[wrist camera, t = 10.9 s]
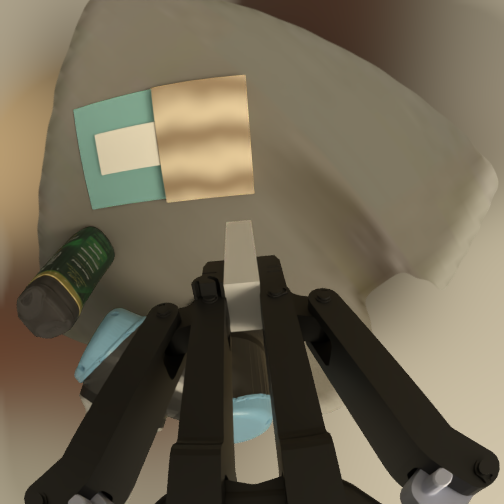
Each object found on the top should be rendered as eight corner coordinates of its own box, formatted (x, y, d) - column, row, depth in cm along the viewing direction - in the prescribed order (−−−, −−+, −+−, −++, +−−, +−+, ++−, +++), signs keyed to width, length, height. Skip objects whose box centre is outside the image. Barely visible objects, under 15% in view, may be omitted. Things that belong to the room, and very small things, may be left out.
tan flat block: (253, 188, 42) (254, 193, 40) (170, 197, 42) (167, 202, 39) (244, 76, 34) (245, 74, 32) (155, 88, 34) (150, 87, 32)
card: (162, 162, 39) (160, 165, 37) (106, 172, 39) (101, 175, 37) (157, 121, 36) (154, 121, 34) (99, 133, 36) (94, 135, 34)
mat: (168, 197, 42) (168, 198, 41) (93, 208, 41) (92, 209, 41) (153, 88, 34) (152, 88, 34) (74, 109, 34) (73, 109, 33)
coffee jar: (95, 217, 42) (35, 282, 26) (123, 255, 46) (79, 333, 29) (60, 244, 44) (4, 309, 28) (86, 278, 47) (42, 351, 31)
